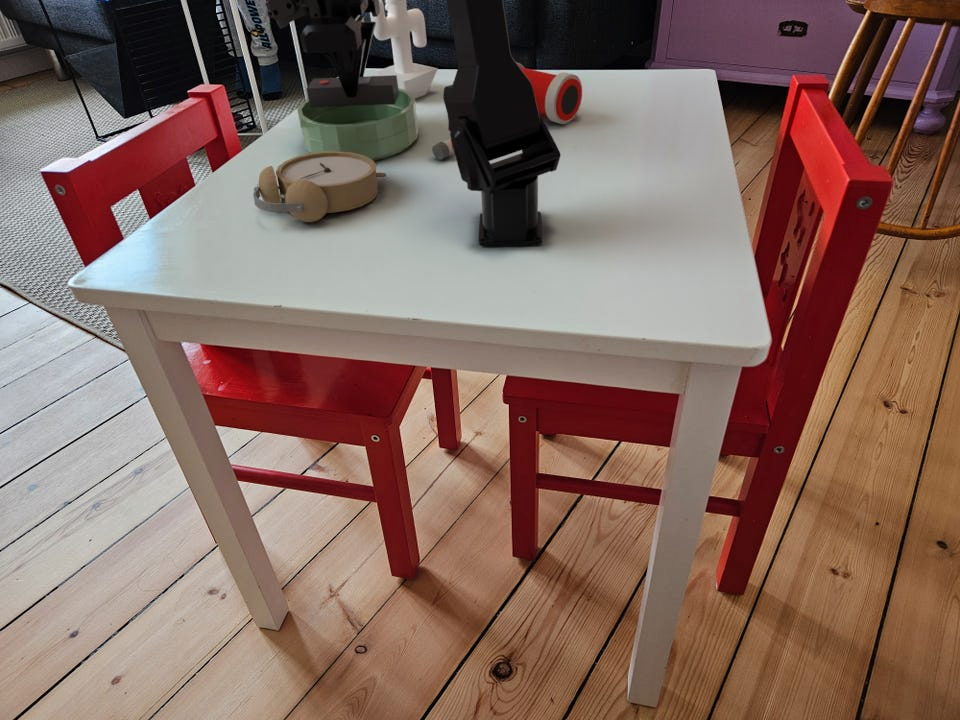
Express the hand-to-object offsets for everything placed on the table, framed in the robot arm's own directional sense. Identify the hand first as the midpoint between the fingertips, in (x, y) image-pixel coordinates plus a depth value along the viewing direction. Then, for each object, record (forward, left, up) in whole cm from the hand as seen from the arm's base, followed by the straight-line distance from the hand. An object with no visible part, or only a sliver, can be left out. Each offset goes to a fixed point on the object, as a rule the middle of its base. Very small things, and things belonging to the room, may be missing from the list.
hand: (354, 91), depth 90 cm
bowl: (0, 0, -7) cm, 7 cm away
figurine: (+18, -4, -7) cm, 20 cm away
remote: (0, 0, -1) cm, 1 cm away
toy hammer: (+3, -20, -7) cm, 21 cm away
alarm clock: (-18, +2, -7) cm, 19 cm away
